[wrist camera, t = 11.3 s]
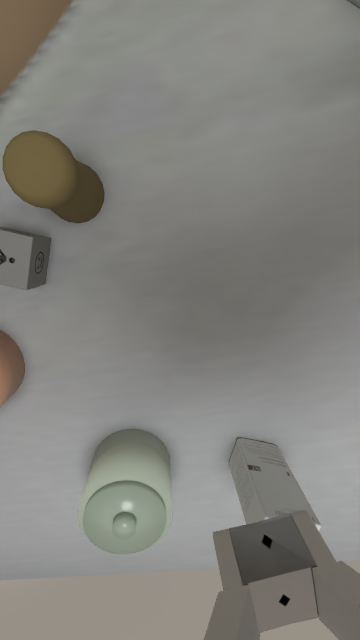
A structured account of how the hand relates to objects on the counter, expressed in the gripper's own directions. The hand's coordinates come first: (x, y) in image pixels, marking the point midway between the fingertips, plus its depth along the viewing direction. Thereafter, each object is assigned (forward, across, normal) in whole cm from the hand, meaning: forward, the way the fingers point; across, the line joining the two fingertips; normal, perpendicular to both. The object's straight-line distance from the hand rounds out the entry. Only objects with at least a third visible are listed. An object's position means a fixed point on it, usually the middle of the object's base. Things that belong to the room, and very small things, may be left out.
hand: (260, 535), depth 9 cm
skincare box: (+27, -5, +20) cm, 34 cm away
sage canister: (+27, +11, +17) cm, 34 cm away
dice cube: (+27, +15, -11) cm, 33 cm away
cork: (+27, +8, -16) cm, 33 cm away
